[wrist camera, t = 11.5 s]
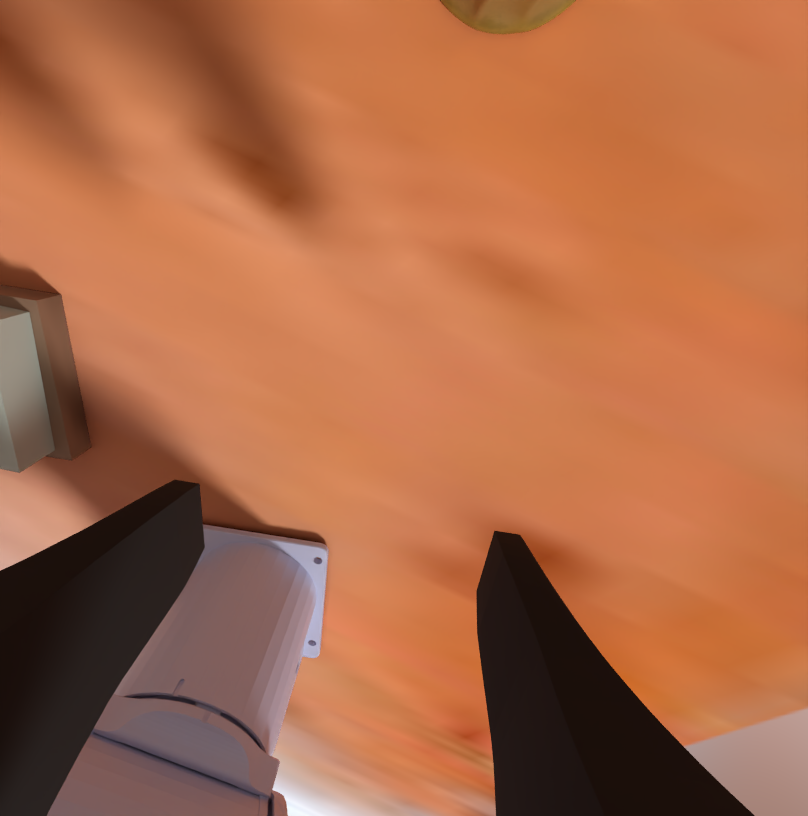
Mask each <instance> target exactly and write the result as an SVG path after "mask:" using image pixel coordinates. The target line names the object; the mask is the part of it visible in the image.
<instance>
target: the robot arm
mask: <svg viewBox="0 0 808 816" xmlns="http://www.w3.org/2000/svg"><path fill="white" fill-rule="evenodd" d="M328 552H329V550H328V547H327V546H326V545H325V544H322V543H318V542H312V541H306V540H299V539H293V538H287V537H280V536H274V535H268V534H261V533H255V532H249V531H242V530H236V529H230V528H223V527H217V526H211V525H204V524H203V520H202V508H201V496H200V485H199V484H198V483H192V482H185V481H179V480H173V481H171V482H169V483H167V484H165V485H164V486H162V487H160V488H158V489H156V490H154V491H153V492H151V493H149V494H147V495H145V496H144V497H142V498H140V499H138V500H136V501H135V502H133V503H131V504H129V505H127V506H126V507H124V508H122V509H120V510H119V511H117V512H115V513H113V514H111V515H109V516H108V517H106V518H104V519H102V520H100V521H98V522H97V523H95V524H93V525H91V526H89V527H88V528H86V529H84V530H82V531H80V532H78V533H76V534H74V535H72V536H70V537H68V538H66V539H64V540H62V541H60V542H58V543H56V544H54V545H52V546H50V547H49V548H47V549H45V550H43V551H41V552H39V553H37V554H35V555H33V556H31V557H29V558H27V559H25V560H23V561H20V562H18V563H16V564H14V565H12V566H10V567H8V568H5V569H3V570H1V571H0V816H288V815H287V806H286V801H285V799H284V796H283V795H282V794H280V793H278V792H276V791H273V790H272V788H273V785H274V781H275V778H276V774H277V771H278V767H279V764H280V761H279V760H278V759H276V758H274V757H272V755H273V752H274V749H275V746H276V743H277V740H278V736H279V733H280V730H281V726H282V723H283V720H284V716H285V713H286V710H287V706H288V703H289V700H290V696H291V693H292V690H293V686H294V683H295V680H296V676H297V673H298V670H299V666H300V663H301V660H302V657H309V658H316V657H318V656H319V653H320V649H321V637H322V625H323V613H324V601H325V589H326V576H327V564H328ZM316 557H319V558H321V559H318V558H316ZM477 634H478V642H479V650H480V658H481V666H482V673H483V681H484V688H485V696H486V703H487V711H488V718H489V726H490V733H491V741H492V752H493V762H494V780H495V801H496V816H754V815H753V814H752V813H751V812H750V811H749V810H748V809H747V808H746V807H745V806H743V804H742V803H740V802H739V801H738V800H737V799H736V798H735V797H734V796H733V795H732V794H731V793H730V792H729V791H728V790H726V789H725V788H724V787H723V786H722V785H721V784H720V783H719V782H718V781H717V780H716V779H715V778H714V777H713V776H712V775H711V774H710V773H709V772H708V771H707V770H706V769H705V768H704V767H703V766H702V765H701V764H699V762H698V761H697V760H696V759H695V758H694V757H693V756H692V755H691V754H690V753H689V752H688V751H687V750H686V749H685V748H684V747H683V746H682V745H681V744H680V743H679V741H678V740H677V739H676V738H675V737H674V736H673V735H672V734H671V733H670V732H669V731H668V730H667V729H666V728H665V727H664V726H663V725H662V724H661V723H660V722H659V721H658V719H657V718H656V717H655V716H654V715H653V714H652V713H651V712H650V711H649V710H648V709H647V708H646V706H645V705H644V704H643V703H642V702H641V701H640V700H639V698H638V697H637V696H636V695H635V694H634V693H633V691H632V690H631V689H630V688H629V687H628V686H627V684H626V683H625V682H624V681H623V680H622V679H621V678H620V676H619V675H618V674H617V673H616V672H615V670H614V669H613V668H612V667H611V666H610V664H609V663H608V662H607V661H606V659H605V658H604V657H603V656H602V654H601V653H600V652H599V650H598V649H597V648H596V646H595V645H594V644H593V642H592V641H591V640H590V639H589V637H588V636H587V635H586V633H585V632H584V630H583V629H582V628H581V626H580V625H579V624H578V622H577V621H576V619H575V618H574V617H573V615H572V614H571V612H570V611H569V609H568V608H567V606H566V605H565V604H564V602H563V601H562V599H561V598H560V596H559V595H558V593H557V592H556V590H555V589H554V587H553V586H552V584H551V583H550V581H549V580H548V578H547V577H546V575H545V573H544V572H543V570H542V569H541V567H540V566H539V564H538V562H537V561H536V559H535V558H534V556H533V554H532V553H531V551H530V550H529V548H528V546H527V545H526V543H525V542H524V540H523V539H522V537H521V536H520V535H518V534H512V533H505V532H499V531H494V535H493V538H492V541H491V545H490V548H489V551H488V555H487V558H486V561H485V565H484V568H483V571H482V575H481V578H480V582H479V585H478V588H477Z"/></svg>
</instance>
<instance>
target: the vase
mask: <svg viewBox="0 0 808 816" xmlns="http://www.w3.org/2000/svg"><path fill="white" fill-rule="evenodd" d="M440 1H441V2H442V3H443V4H444V6H445V7H446V8H447V9H448V10H449V11H450V12H451V13H452V14H453V15H454V16H456V17H457V18H458V19H459V20H461V21H462V22H463V23H465V24H466V25H468V26H470V27H472V28H474V29H476V30H479V31H482V32H487V33H492V34H512V33H521V32H526V31H531V30H533V29H535V28H538V27H540V26H542V25H544V24H545V23H547V22H549V21H551V20H552V19H554V18H555V17H557V16H558V15H559V14H561V13H562V12H563V11H565V10H566V9H567V8H568V7H569V6H571V5H572V4H573V3H574V2H575V1H576V0H440Z"/></svg>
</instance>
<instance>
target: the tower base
mask: <svg viewBox="0 0 808 816" xmlns="http://www.w3.org/2000/svg"><path fill="white" fill-rule="evenodd" d="M0 306H4V307H9V308H14V309H18V310H23V311H28V312H29V313H30V318H31V323H32V329H33V334H34V340H35V345H36V350H37V356H38V361H39V366H40V372H41V377H42V382H43V388H44V393H45V398H46V404H47V409H48V414H49V420H50V425H51V431H52V436H53V442H54V447H55V450H54V451H53V452H51V453H50V454H48V455H46V456H47V457H53V458H59V459H65V460H74V459H75V458H76V457H78V456H79V455H81V454H82V453H83V452H85V451H86V450H88V449H89V448H91V443H90V438H89V433H88V428H87V423H86V418H85V413H84V408H83V403H82V398H81V393H80V387H79V382H78V377H77V372H76V367H75V362H74V357H73V352H72V347H71V342H70V337H69V331H68V326H67V321H66V316H65V311H64V306H63V301H62V296H61V294H55V293H48V292H42V291H36V290H30V289H24V288H18V287H12V286H5V285H0Z"/></svg>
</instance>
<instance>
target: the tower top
mask: <svg viewBox="0 0 808 816" xmlns="http://www.w3.org/2000/svg"><path fill="white" fill-rule="evenodd" d="M54 450H55V447H54V442H53V436H52V431H51V425H50V420H49V414H48V409H47V404H46V398H45V393H44V388H43V382H42V377H41V372H40V366H39V361H38V356H37V350H36V345H35V340H34V334H33V329H32V323H31V318H30V313H29V312H28V311H23V310H18V309H14V308H9V307H4V306H0V469H4V470H9V471H14V472H18V473H20V472H22V471H23V470H25V469H26V468H28V467H29V466H31V465H33V464H34V463H36V462H37V461H39V460H40V459H42V458H43V457H45V456H46V455H48V454H50V453H51V452H53V451H54Z"/></svg>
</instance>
